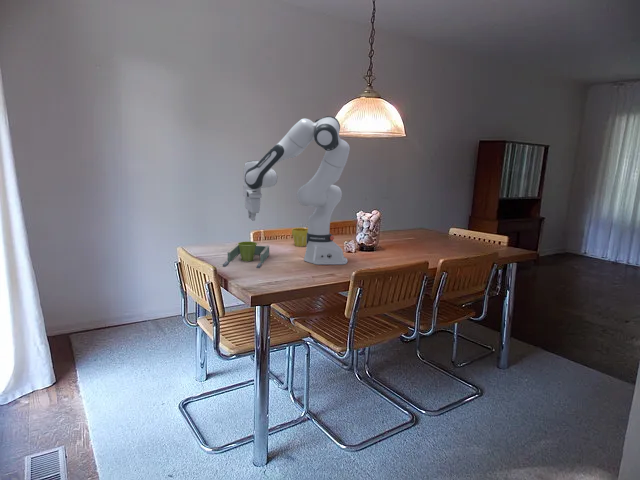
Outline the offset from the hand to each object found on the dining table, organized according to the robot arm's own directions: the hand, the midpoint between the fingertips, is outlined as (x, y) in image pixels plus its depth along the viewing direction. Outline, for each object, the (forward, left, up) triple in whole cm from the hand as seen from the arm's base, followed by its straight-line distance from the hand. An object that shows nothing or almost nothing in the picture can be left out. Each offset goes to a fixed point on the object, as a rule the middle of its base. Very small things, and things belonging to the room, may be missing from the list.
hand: (251, 219), depth 226 cm
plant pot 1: (0, +11, -19) cm, 22 cm away
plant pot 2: (-23, -32, -19) cm, 44 cm away
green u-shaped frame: (0, +6, -19) cm, 20 cm away
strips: (0, +22, -19) cm, 29 cm away
